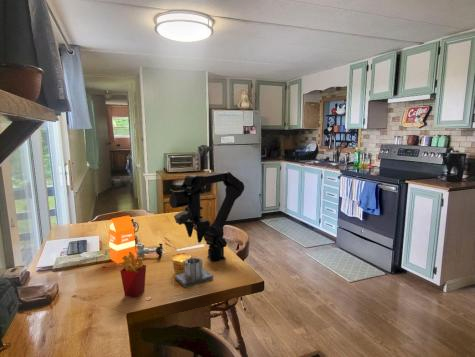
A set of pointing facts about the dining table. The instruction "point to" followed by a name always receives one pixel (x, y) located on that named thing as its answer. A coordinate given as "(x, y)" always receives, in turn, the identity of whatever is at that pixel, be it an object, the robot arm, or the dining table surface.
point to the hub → (193, 268)
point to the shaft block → (190, 282)
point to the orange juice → (121, 238)
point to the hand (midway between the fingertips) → (194, 239)
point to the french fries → (133, 276)
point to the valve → (147, 250)
